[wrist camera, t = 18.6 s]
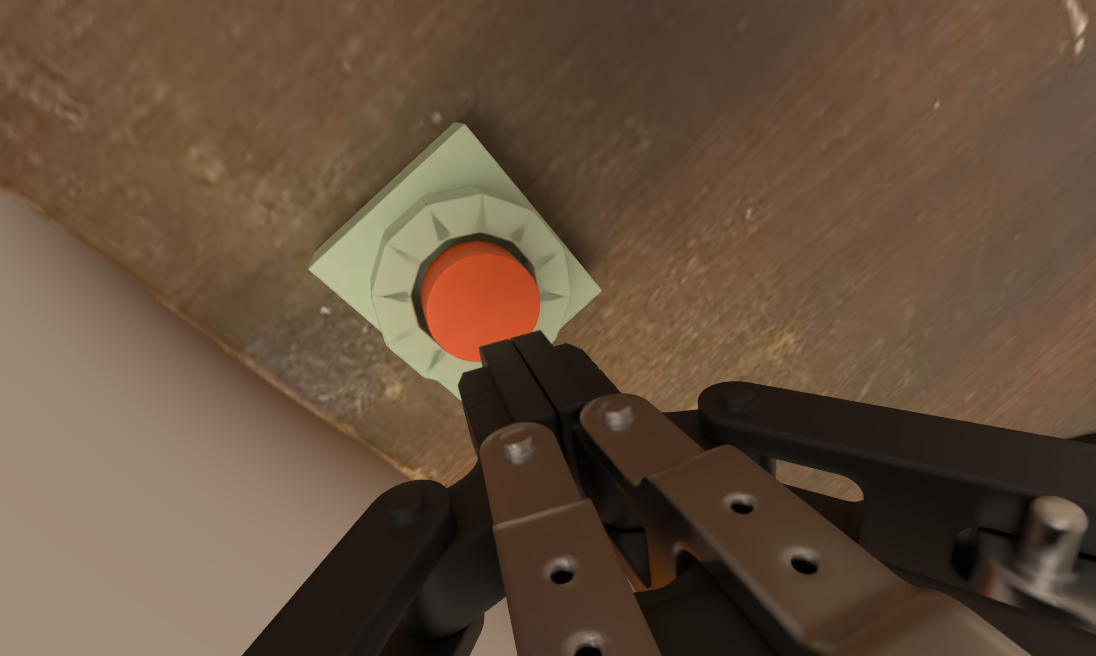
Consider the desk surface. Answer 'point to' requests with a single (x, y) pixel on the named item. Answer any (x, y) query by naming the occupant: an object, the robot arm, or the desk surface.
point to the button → (478, 298)
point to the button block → (431, 228)
